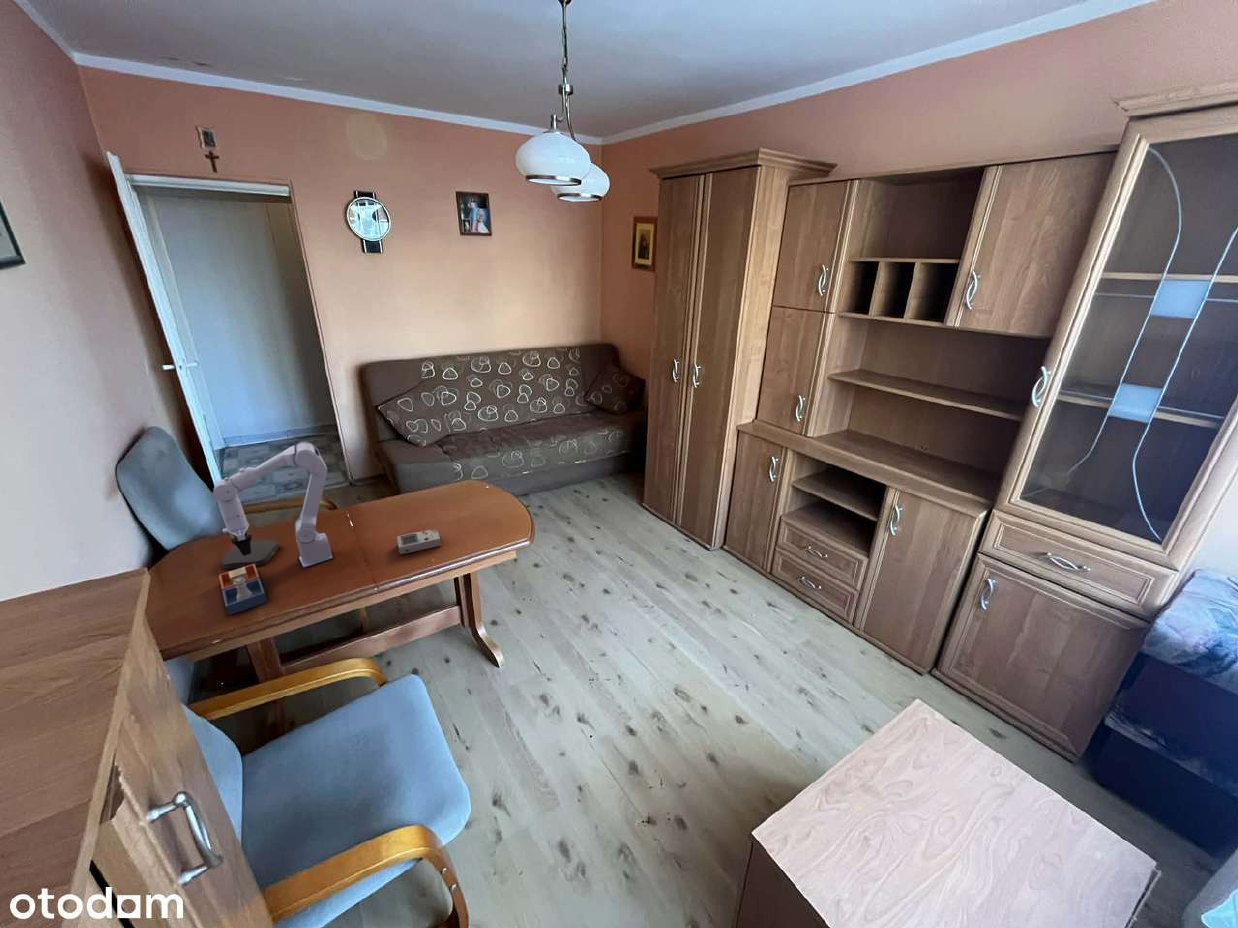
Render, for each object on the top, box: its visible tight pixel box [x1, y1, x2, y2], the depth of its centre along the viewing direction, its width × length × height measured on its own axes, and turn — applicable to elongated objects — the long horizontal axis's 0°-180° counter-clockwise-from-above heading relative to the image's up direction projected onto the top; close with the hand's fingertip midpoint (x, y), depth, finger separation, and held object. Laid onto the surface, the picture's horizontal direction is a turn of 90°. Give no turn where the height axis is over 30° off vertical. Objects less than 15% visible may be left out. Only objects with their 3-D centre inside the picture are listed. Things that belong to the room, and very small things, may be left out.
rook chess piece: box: [233, 577, 254, 601], centre depth 161 cm, size 4×4×8 cm
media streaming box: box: [221, 539, 279, 570], centre depth 185 cm, size 15×15×3 cm
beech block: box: [227, 567, 249, 585], centre depth 169 cm, size 4×4×4 cm
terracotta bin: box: [218, 564, 260, 591], centre depth 170 cm, size 10×10×4 cm
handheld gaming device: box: [396, 529, 442, 555], centre depth 193 cm, size 9×15×4 cm, turn 116°
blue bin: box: [221, 577, 269, 616], centre depth 162 cm, size 10×10×4 cm
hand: (245, 549), depth 172 cm, fingers open, 7 cm apart
